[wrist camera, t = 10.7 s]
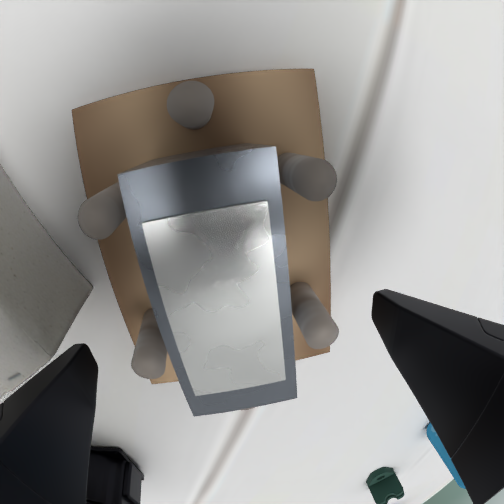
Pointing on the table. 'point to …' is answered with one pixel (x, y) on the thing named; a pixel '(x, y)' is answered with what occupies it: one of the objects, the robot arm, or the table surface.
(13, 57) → the table surface
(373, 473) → the mount
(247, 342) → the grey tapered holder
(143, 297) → the pin tray
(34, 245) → the box
